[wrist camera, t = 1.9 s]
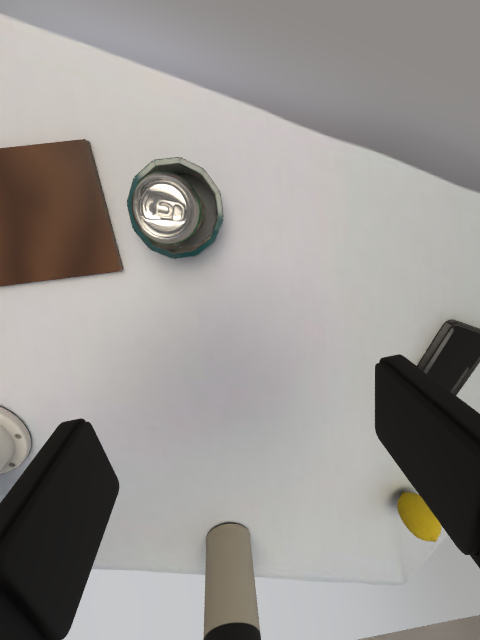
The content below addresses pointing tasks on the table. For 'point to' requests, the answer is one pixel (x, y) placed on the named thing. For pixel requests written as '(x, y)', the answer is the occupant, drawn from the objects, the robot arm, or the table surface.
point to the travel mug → (230, 586)
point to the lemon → (418, 517)
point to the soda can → (167, 208)
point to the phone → (453, 355)
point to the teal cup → (175, 167)
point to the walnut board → (53, 214)
